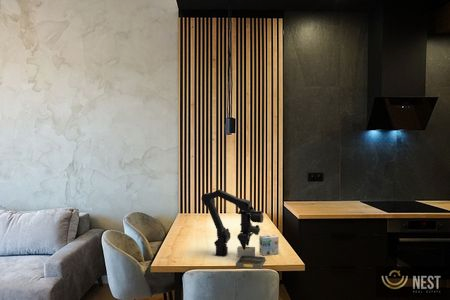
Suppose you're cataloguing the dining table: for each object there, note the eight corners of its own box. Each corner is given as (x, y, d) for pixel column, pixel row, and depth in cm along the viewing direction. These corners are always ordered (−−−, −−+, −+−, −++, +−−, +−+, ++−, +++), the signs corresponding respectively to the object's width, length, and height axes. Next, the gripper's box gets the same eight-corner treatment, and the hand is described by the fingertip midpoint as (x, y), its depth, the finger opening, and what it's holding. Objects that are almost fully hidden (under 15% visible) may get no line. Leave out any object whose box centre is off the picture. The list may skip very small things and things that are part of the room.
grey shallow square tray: (235, 266, 201) (235, 263, 201) (241, 258, 215) (241, 255, 215) (260, 268, 197) (260, 265, 197) (265, 260, 212) (265, 256, 212)
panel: (237, 257, 218) (237, 247, 218) (238, 255, 222) (238, 246, 221) (253, 259, 215) (253, 248, 215) (255, 257, 219) (255, 247, 219)
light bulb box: (262, 255, 221) (262, 237, 221) (259, 252, 228) (258, 235, 228) (279, 254, 224) (278, 236, 224) (275, 251, 230) (274, 234, 230)
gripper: (256, 225, 207) (256, 252, 207) (261, 219, 225) (261, 244, 225) (237, 224, 210) (237, 251, 210) (244, 218, 228) (244, 243, 228)
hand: (245, 247), depth 218 cm, fingers open, 9 cm apart
